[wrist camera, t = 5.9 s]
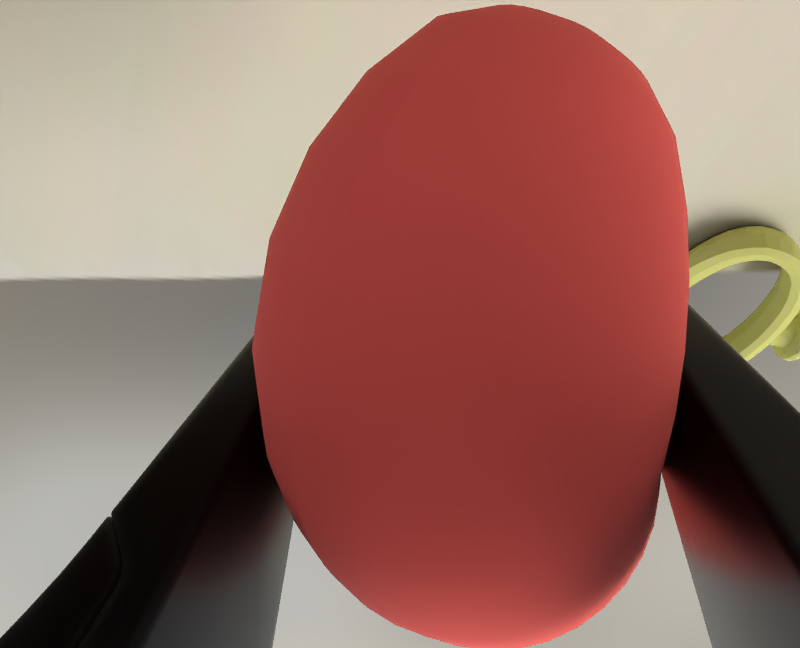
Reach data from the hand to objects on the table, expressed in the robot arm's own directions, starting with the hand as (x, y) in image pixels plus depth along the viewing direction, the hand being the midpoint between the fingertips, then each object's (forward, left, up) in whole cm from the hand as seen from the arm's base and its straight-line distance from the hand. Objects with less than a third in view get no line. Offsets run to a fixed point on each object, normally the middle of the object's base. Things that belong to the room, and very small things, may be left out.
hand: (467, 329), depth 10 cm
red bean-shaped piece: (0, 0, -1) cm, 1 cm away
